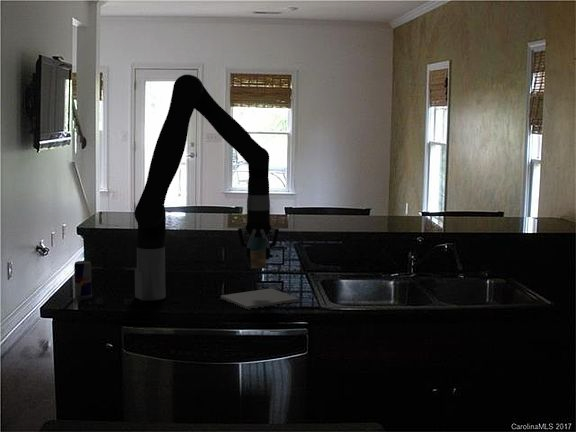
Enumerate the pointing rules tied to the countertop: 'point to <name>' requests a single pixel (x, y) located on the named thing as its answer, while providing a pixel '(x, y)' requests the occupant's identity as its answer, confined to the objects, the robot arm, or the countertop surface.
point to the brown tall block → (258, 252)
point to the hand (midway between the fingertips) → (258, 258)
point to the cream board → (259, 298)
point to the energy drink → (83, 280)
